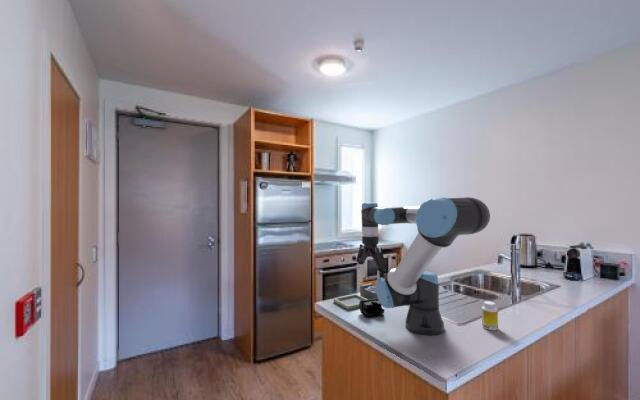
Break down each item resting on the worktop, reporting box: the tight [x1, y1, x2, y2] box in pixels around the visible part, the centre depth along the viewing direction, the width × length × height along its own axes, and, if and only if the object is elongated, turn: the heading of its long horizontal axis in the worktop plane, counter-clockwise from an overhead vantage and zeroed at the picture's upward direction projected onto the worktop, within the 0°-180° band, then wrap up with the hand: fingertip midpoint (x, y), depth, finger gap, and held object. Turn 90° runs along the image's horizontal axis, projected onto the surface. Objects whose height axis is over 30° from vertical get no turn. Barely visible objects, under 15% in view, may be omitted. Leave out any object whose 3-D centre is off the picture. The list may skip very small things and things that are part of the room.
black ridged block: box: [358, 298, 385, 319], centre depth 134 cm, size 10×7×7 cm
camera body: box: [359, 282, 378, 300], centre depth 156 cm, size 12×7×6 cm, turn 28°
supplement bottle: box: [481, 300, 499, 331], centre depth 117 cm, size 6×6×10 cm
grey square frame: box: [333, 293, 368, 312], centre depth 148 cm, size 14×14×2 cm
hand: (371, 280), depth 134 cm, fingers open, 13 cm apart
